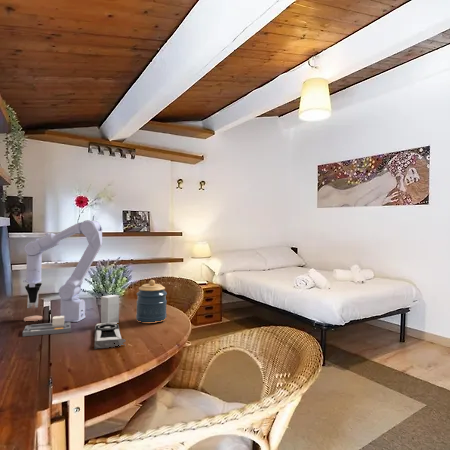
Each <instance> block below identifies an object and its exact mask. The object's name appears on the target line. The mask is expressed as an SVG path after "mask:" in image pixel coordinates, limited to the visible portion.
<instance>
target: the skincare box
mask: <svg viewBox="0 0 450 450" xmlns="http://www.w3.org/2000/svg"><path fill="white" fill-rule="evenodd" d="M119 314H120V295H118V294H113V295H112V294H109V295H103V296H100V323H101V324H103V323H113V322H117V323H119V322H120V321H119V320H120V318H119V317H120V315H119Z"/></svg>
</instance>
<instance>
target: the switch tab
mask: <svg viewBox="0 0 450 450" xmlns="http://www.w3.org/2000/svg"><path fill="white" fill-rule="evenodd" d="M64 322H65V321H64V316H60V315H55V316H53V317H52V322H51V323H52V326H64Z"/></svg>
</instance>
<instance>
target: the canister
mask: <svg viewBox="0 0 450 450" xmlns="http://www.w3.org/2000/svg"><path fill="white" fill-rule="evenodd" d="M165 289H166V287H165V286H163V285H162V284H160V283H156V281H155V280H154V279H150V280H149V281H148V283H145V284H142V285H141V286H139V287H138V292H136V296H137V300H136V314H135V319H136V321H137V320H138V321H141V322H155V321H161V320H164V319H165V318H166V319H167V301H168V300H167V299H166V298H167V295H168V293H167V291H166V290H165Z"/></svg>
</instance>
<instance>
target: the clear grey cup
mask: <svg viewBox="0 0 450 450" xmlns="http://www.w3.org/2000/svg"><path fill="white" fill-rule="evenodd" d="M39 292H40V289H39V290H38V294H37V299H36V302H35V303H30V301H29V296H28V295H27V304H26V305H27V309H37V308H38V307H39Z"/></svg>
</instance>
